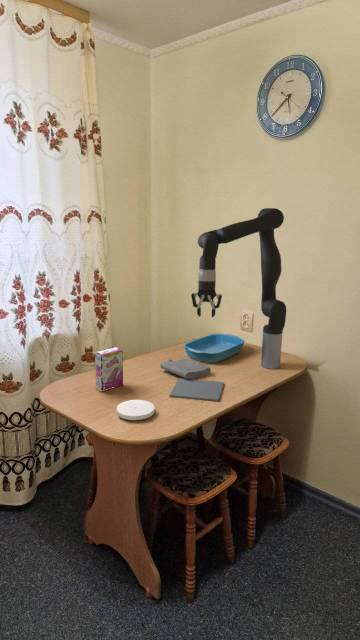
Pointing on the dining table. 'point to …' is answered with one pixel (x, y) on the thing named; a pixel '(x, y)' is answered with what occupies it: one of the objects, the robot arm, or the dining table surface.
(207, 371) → the hip flask
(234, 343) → the casserole dish
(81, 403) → the dining table surface
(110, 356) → the candy bar box
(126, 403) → the plastic lid
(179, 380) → the mat
